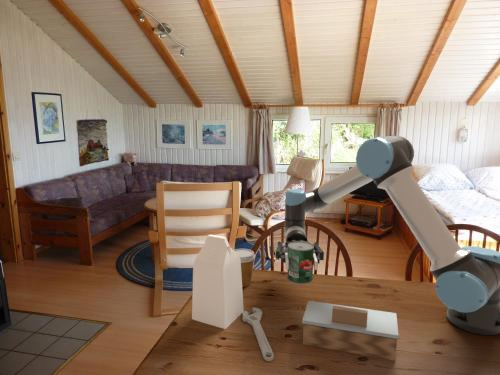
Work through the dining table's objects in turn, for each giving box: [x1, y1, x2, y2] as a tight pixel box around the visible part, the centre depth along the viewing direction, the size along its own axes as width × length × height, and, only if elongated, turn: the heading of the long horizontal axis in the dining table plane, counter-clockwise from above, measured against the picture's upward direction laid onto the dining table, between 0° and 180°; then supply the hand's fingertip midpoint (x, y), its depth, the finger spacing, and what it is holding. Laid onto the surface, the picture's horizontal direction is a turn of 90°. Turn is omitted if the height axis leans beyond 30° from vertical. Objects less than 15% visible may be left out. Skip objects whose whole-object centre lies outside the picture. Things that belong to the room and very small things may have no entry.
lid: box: [301, 300, 400, 340], centre depth 106 cm, size 25×11×5 cm, turn 73°
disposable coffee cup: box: [233, 248, 256, 288], centre depth 143 cm, size 10×10×12 cm
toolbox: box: [302, 323, 398, 361], centre depth 108 cm, size 24×11×6 cm, turn 73°
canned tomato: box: [286, 241, 314, 285], centre depth 119 cm, size 8×8×11 cm
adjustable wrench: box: [242, 307, 275, 362], centre depth 111 cm, size 25×6×2 cm, turn 7°
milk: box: [191, 234, 245, 330], centre depth 119 cm, size 12×12×26 cm
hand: (301, 265), depth 114 cm, fingers closed on canned tomato, 8 cm apart
